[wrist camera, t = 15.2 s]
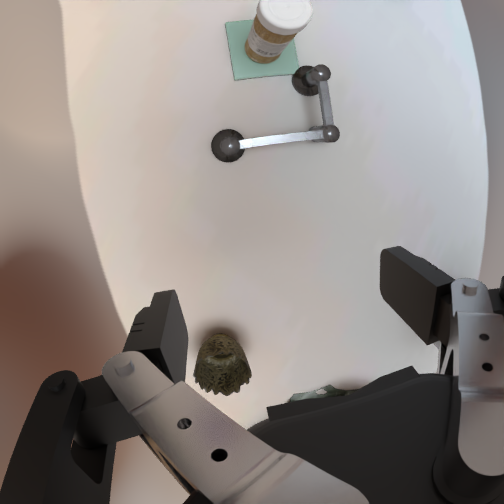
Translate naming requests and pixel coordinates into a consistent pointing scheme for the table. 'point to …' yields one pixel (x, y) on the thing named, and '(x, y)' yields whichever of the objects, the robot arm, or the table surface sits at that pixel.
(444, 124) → the table surface
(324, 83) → the grey jointed rod frame
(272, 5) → the sprinkles bottle
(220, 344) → the dark brown scalloped piece
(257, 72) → the pad
